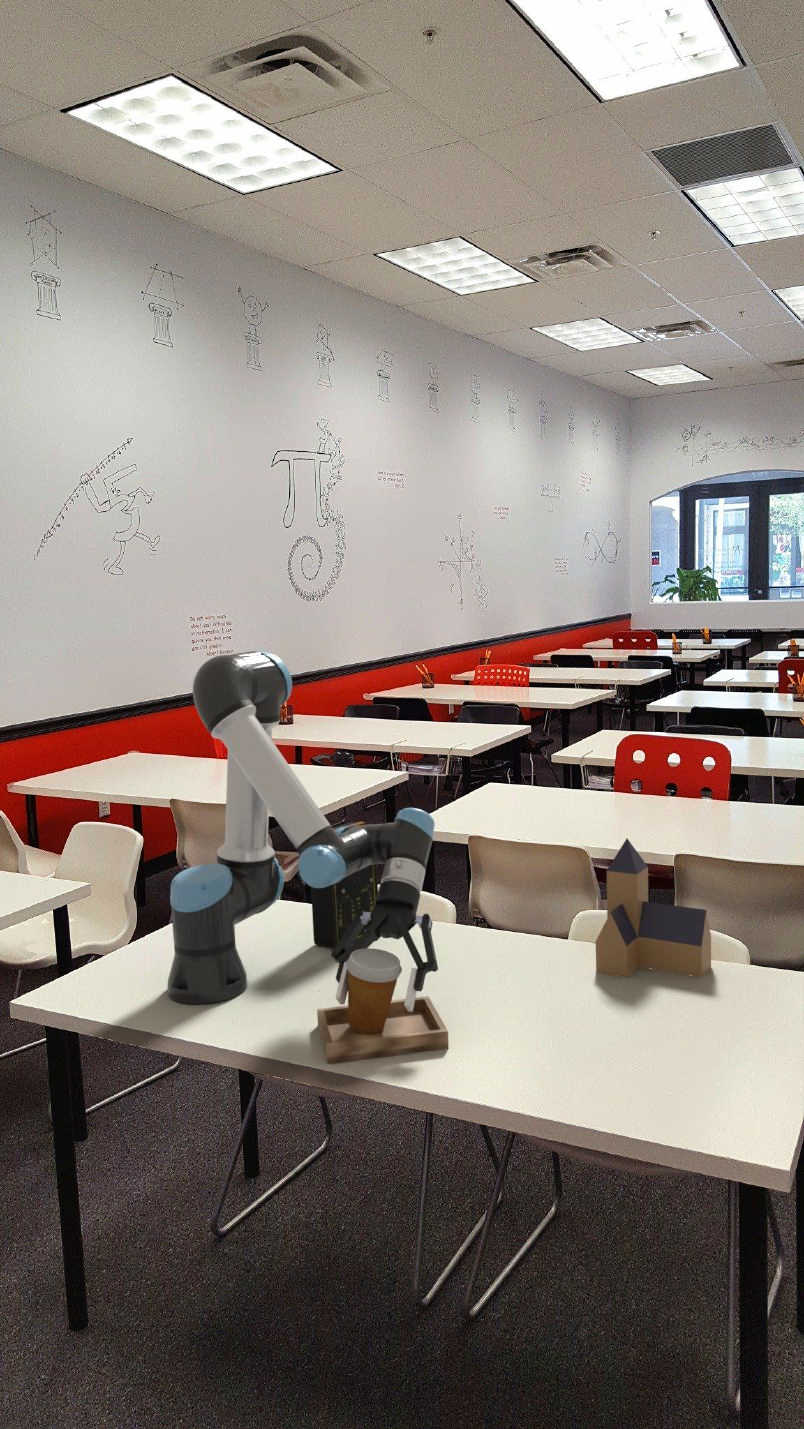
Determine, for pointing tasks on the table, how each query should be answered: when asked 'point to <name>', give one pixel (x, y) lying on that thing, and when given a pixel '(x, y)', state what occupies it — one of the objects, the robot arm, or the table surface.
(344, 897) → the voltmeter
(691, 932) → the model church
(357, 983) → the disposable coffee cup
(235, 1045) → the table surface
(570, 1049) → the table surface
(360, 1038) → the trough tray
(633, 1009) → the table surface
